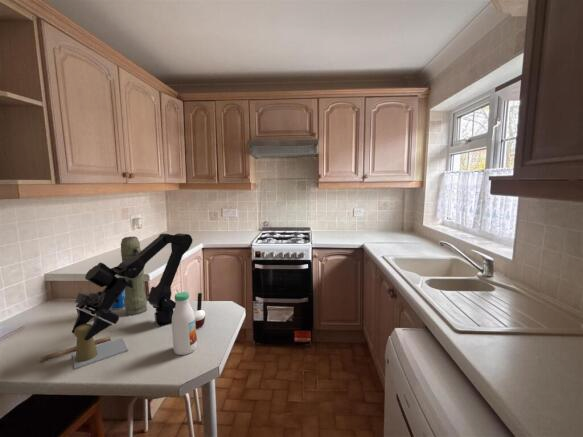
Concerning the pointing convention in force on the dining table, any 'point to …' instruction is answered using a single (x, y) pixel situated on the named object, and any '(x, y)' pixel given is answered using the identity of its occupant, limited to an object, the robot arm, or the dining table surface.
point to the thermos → (133, 279)
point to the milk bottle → (183, 325)
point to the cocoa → (199, 313)
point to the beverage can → (120, 302)
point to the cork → (84, 344)
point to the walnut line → (70, 350)
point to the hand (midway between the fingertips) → (79, 336)
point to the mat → (103, 352)
